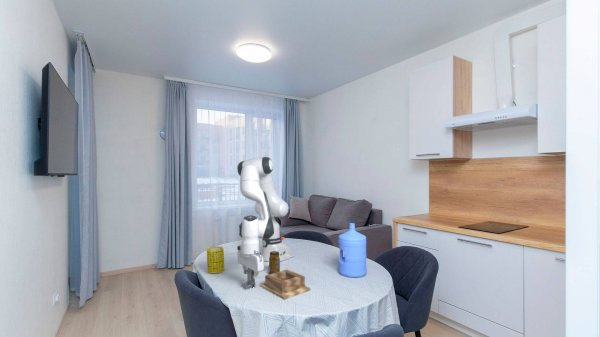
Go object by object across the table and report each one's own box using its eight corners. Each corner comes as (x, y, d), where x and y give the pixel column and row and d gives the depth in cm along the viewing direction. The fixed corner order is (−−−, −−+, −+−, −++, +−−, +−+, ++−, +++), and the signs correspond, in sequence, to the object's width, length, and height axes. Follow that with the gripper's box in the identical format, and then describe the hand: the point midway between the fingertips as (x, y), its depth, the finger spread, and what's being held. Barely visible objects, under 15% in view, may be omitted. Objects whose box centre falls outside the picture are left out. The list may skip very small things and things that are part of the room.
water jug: (369, 270, 168) (368, 222, 169) (363, 279, 154) (362, 227, 154) (343, 267, 175) (342, 220, 175) (335, 275, 161) (334, 225, 161)
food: (226, 271, 172) (218, 278, 162) (208, 266, 174) (199, 272, 165) (231, 247, 171) (223, 252, 161) (213, 242, 173) (204, 247, 163)
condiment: (278, 270, 169) (277, 250, 170) (283, 275, 162) (283, 253, 162) (266, 272, 166) (266, 251, 166) (271, 277, 159) (271, 255, 159)
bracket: (250, 284, 148) (250, 265, 148) (254, 287, 145) (254, 267, 145) (242, 287, 145) (241, 267, 145) (246, 289, 142) (246, 269, 142)
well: (285, 278, 156) (285, 267, 156) (310, 290, 141) (310, 277, 141) (260, 286, 146) (260, 274, 146) (284, 299, 131) (284, 286, 131)
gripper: (267, 251, 140) (267, 280, 140) (246, 243, 156) (245, 269, 156) (255, 254, 136) (255, 283, 136) (235, 245, 152) (235, 272, 152)
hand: (250, 276), depth 146 cm, fingers open, 8 cm apart
